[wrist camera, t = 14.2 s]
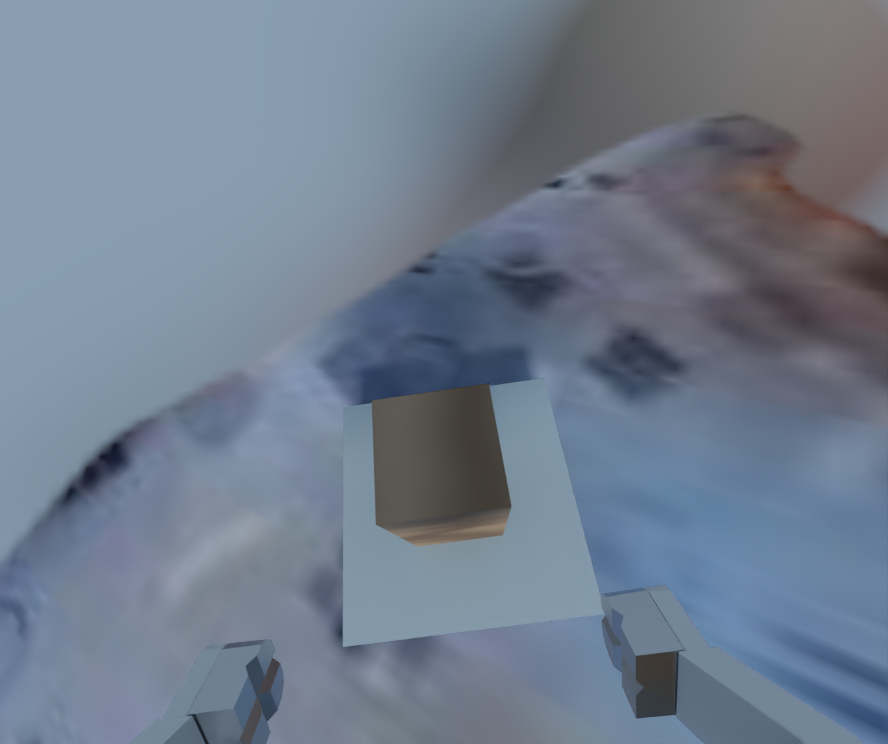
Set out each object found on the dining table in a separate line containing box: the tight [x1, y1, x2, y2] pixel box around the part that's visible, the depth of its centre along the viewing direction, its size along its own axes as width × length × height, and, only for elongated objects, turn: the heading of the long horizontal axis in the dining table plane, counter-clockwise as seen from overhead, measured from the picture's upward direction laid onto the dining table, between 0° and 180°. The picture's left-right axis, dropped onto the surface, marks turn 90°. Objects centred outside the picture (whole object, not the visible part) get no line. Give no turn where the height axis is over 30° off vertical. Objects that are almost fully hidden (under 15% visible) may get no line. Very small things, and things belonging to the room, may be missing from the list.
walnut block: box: [372, 383, 512, 547], centre depth 20 cm, size 5×5×10 cm
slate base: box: [343, 378, 605, 647], centre depth 27 cm, size 14×14×4 cm
